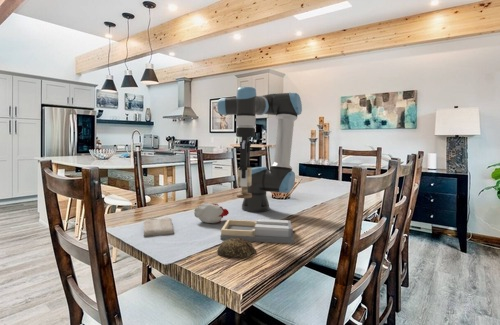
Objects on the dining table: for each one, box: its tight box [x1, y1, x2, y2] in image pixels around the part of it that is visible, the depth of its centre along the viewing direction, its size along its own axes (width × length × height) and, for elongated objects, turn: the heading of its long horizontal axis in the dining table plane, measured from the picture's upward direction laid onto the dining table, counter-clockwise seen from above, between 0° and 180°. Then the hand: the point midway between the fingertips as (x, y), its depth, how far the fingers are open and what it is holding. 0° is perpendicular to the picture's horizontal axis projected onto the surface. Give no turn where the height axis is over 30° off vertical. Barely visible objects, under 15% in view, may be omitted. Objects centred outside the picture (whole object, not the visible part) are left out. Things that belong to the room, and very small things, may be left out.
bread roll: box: [216, 238, 257, 259], centre depth 99 cm, size 13×12×5 cm
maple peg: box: [236, 166, 253, 199], centre depth 116 cm, size 6×6×12 cm
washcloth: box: [143, 217, 175, 237], centre depth 122 cm, size 12×18×3 cm, turn 20°
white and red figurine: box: [193, 202, 229, 224], centre depth 133 cm, size 9×11×15 cm
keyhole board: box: [219, 218, 295, 245], centre depth 117 cm, size 28×16×5 cm, turn 84°
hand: (244, 185), depth 116 cm, fingers closed on maple peg, 5 cm apart
